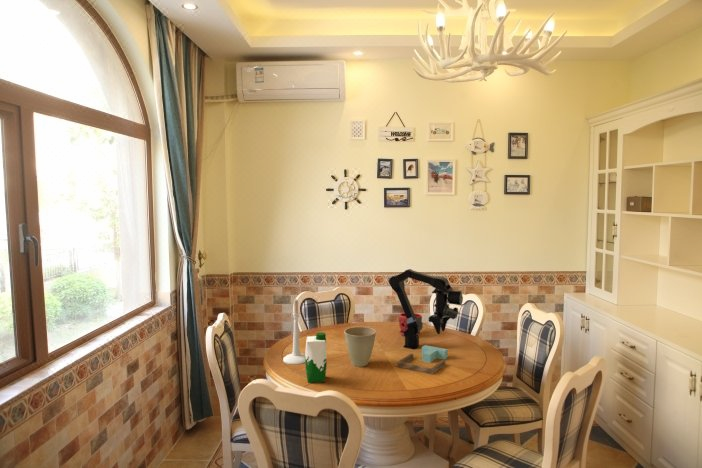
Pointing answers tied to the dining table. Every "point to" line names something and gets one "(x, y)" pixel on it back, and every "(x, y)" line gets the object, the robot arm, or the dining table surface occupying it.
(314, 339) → the milk carton
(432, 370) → the dock
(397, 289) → the robot arm
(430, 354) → the tee
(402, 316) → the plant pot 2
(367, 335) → the plant pot
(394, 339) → the dining table surface
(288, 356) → the candlestick
